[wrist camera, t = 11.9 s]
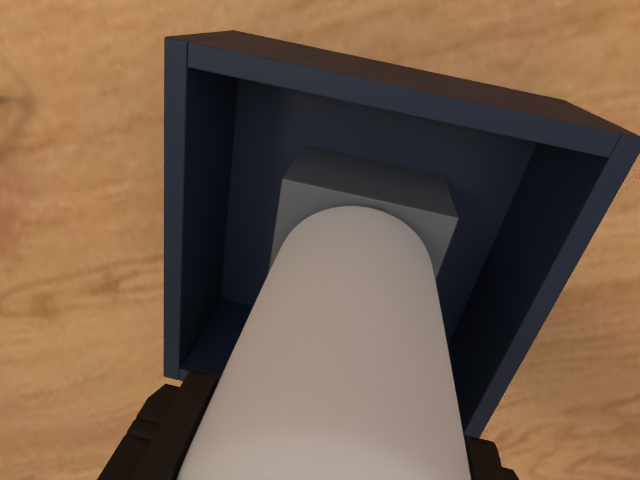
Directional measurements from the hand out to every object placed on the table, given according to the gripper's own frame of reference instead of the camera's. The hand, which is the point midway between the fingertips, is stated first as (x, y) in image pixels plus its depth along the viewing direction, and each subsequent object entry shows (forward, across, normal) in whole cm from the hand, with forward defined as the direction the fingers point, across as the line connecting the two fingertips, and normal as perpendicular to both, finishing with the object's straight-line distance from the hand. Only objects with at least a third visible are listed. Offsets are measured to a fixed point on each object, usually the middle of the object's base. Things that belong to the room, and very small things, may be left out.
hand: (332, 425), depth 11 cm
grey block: (+13, 0, 0) cm, 13 cm away
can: (+8, 0, 0) cm, 8 cm away
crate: (+14, 0, 0) cm, 14 cm away
